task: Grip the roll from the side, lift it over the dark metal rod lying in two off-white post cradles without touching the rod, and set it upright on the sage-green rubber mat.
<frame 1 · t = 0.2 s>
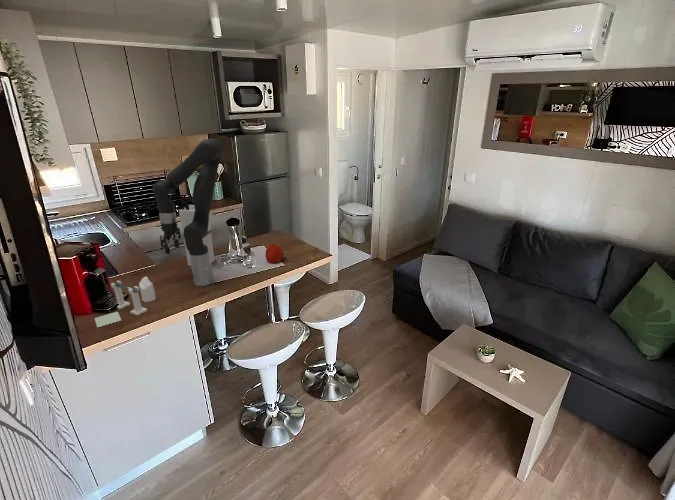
hand: (172, 250, 184), 18 cm above the table, tool pointing down, fingers open, 8 cm apart
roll: (149, 299, 174), on the table
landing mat: (108, 320, 157), on the table
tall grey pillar: (202, 265, 210), on the table
hurdle posts: (130, 308, 165), on the table
rod: (125, 288, 161), point 10 cm above the table, touching hurdle posts
apple: (274, 261, 217), on the table
medicine bottle: (243, 255, 224), on the table
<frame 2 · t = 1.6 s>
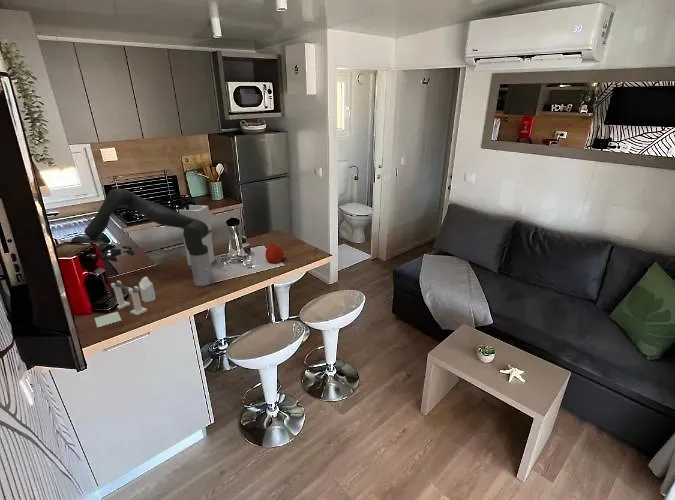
hand: (124, 256, 170), 20 cm above the table, tool horizontal, fingers open, 8 cm apart
nothing on the table moved.
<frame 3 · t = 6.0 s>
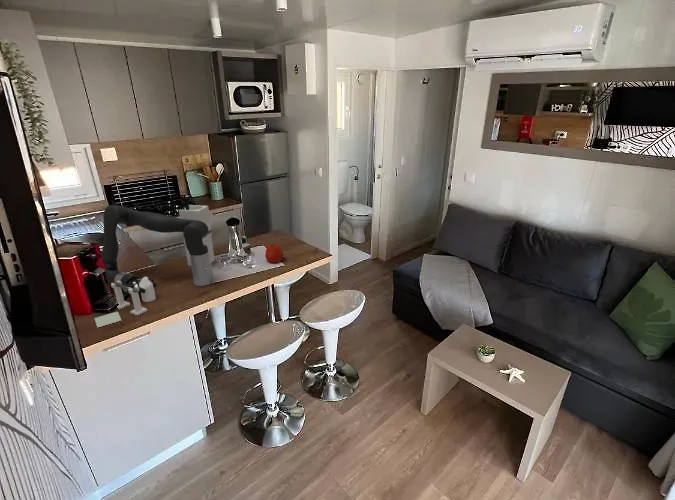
hand: (150, 288, 170), 7 cm above the table, tool horizontal, fingers closed on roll, 5 cm apart
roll: (149, 299, 174), on the table, touching gripper
everything else where it was.
when the fingers open (8 cm above the table, at t = 13.2 s): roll drops 1 cm, resting on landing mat.
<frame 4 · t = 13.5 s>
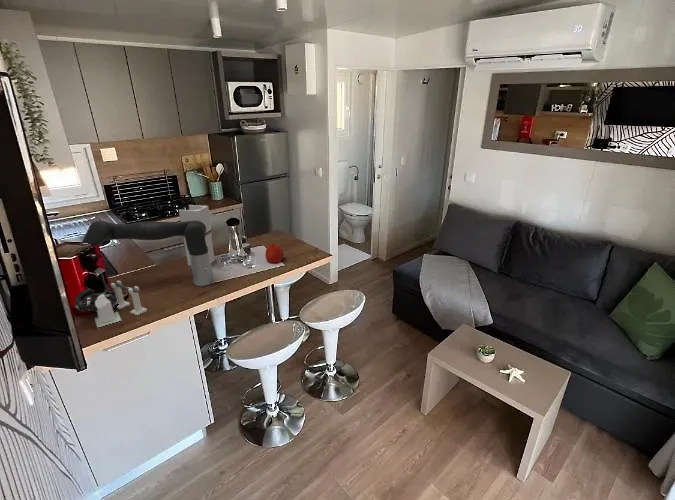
hand: (106, 304, 153), 9 cm above the table, tool horizontal, fingers open, 8 cm apart
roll: (107, 319, 156), resting on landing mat
everything else where it was.
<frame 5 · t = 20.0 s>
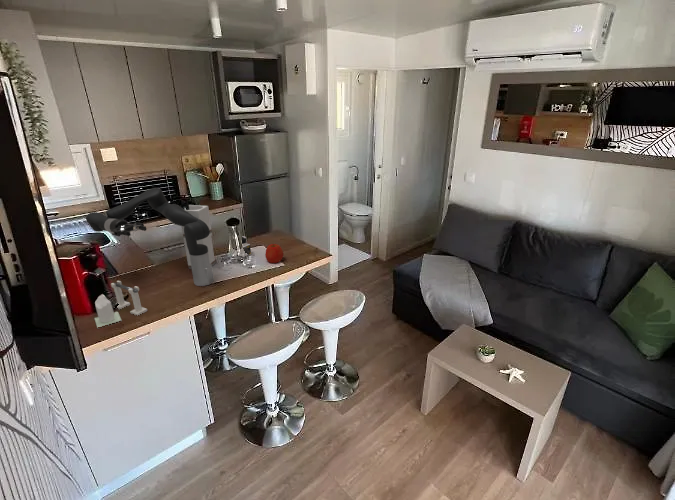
hand: (137, 231, 175), 30 cm above the table, tool horizontal, fingers open, 8 cm apart
nothing on the table moved.
at the end: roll inside the target area on the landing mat (0.1 cm from its centre), point 0.4 cm above the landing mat's base; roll tilted 0°; rod moved 0.1 cm from its start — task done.
